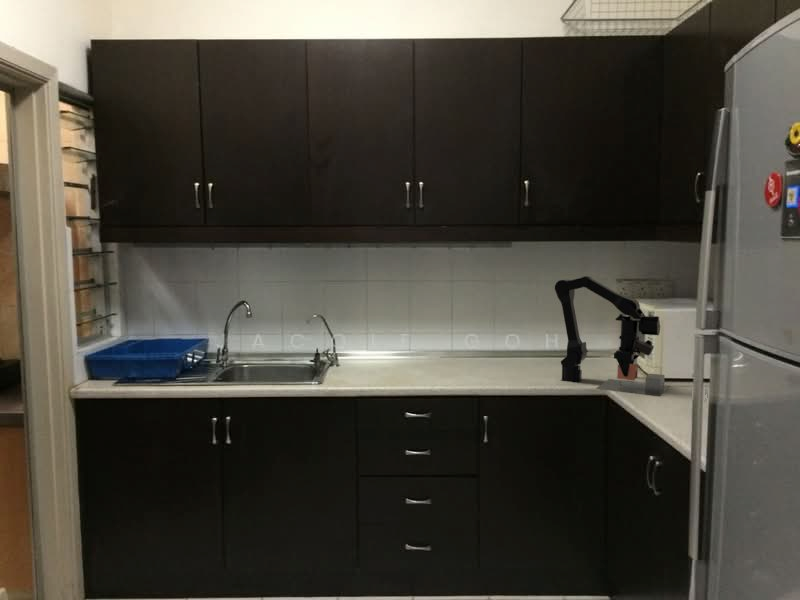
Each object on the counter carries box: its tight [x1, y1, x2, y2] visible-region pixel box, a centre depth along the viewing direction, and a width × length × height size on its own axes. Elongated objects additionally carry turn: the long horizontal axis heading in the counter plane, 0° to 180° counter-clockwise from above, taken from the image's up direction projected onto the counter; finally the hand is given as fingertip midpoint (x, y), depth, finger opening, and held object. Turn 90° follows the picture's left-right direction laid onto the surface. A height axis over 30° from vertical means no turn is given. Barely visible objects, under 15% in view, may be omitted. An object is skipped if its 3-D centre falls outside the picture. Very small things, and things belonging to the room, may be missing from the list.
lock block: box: [616, 363, 639, 381], centre depth 235 cm, size 6×5×5 cm
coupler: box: [595, 372, 671, 397], centre depth 234 cm, size 22×20×6 cm
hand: (627, 375), depth 235 cm, fingers closed on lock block, 5 cm apart
